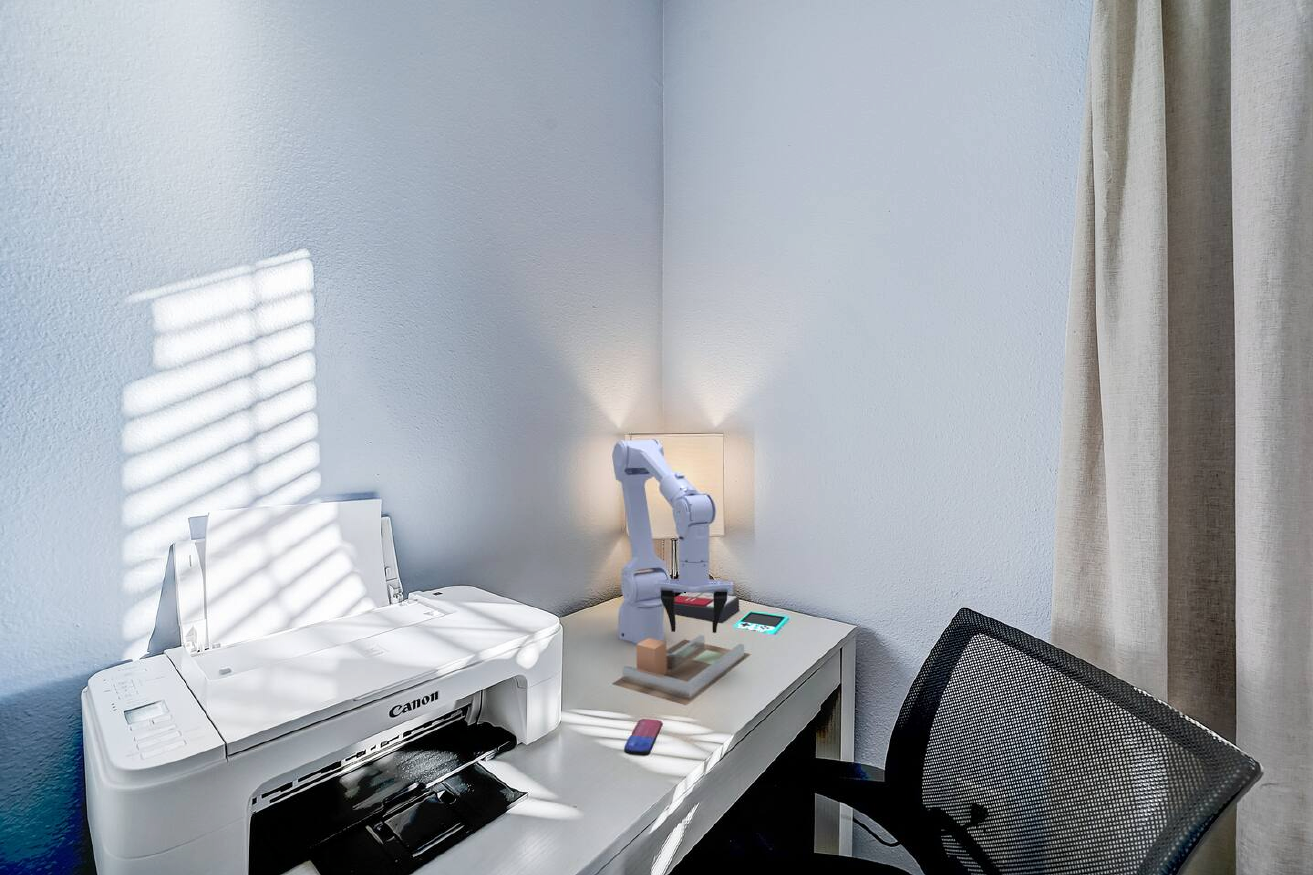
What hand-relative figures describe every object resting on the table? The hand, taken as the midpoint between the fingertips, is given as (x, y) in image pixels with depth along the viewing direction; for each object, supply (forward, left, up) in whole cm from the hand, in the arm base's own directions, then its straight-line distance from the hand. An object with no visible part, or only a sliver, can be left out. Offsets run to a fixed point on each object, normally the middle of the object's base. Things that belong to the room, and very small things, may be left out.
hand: (693, 630), depth 120 cm
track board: (-2, +1, -9) cm, 9 cm away
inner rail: (-6, +5, -8) cm, 11 cm away
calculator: (-17, +35, -10) cm, 40 cm away
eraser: (+5, -24, -10) cm, 27 cm away
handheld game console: (-1, +33, -10) cm, 34 cm away
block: (-6, -5, -8) cm, 11 cm away
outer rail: (-2, +1, -8) cm, 8 cm away
